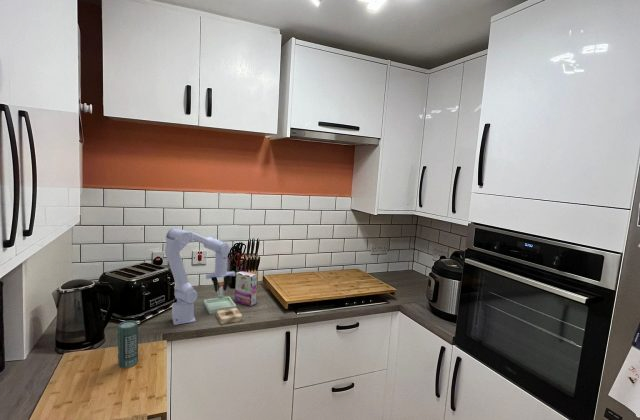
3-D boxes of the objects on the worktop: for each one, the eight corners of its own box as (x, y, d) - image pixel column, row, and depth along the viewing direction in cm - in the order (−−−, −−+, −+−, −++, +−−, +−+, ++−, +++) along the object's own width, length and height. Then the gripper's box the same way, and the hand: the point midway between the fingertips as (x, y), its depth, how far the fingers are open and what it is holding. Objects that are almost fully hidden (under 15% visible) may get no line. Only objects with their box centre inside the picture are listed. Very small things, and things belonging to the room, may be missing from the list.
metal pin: (217, 299, 173) (217, 284, 173) (215, 297, 176) (215, 282, 176) (225, 298, 175) (225, 283, 175) (223, 296, 178) (223, 281, 178)
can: (133, 356, 129) (133, 318, 128) (140, 363, 126) (140, 324, 124) (115, 362, 125) (115, 324, 123) (122, 370, 121) (122, 330, 119)
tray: (209, 314, 168) (209, 309, 168) (204, 304, 179) (204, 299, 179) (236, 310, 175) (236, 305, 174) (229, 300, 186) (229, 296, 186)
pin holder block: (221, 324, 159) (221, 319, 159) (216, 315, 167) (216, 310, 167) (242, 320, 164) (242, 315, 164) (236, 312, 172) (236, 307, 172)
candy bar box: (256, 303, 185) (257, 274, 183) (250, 306, 180) (251, 276, 178) (240, 298, 190) (241, 270, 188) (234, 301, 185) (235, 272, 183)
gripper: (208, 268, 167) (207, 295, 169) (237, 265, 174) (236, 291, 176) (205, 264, 173) (204, 290, 175) (233, 262, 180) (232, 286, 182)
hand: (220, 290), depth 176 cm, fingers closed on metal pin, 4 cm apart
